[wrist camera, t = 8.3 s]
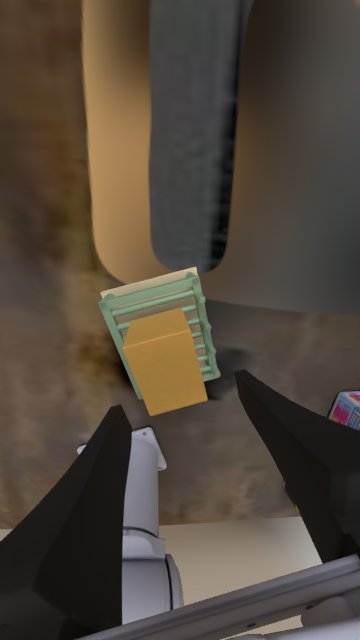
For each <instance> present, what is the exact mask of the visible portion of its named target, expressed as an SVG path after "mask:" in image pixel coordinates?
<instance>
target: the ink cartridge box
mask: <svg viewBox="0 0 360 640" xmlns="http://www.w3.org/2000/svg"><path fill="white" fill-rule="evenodd" d="M328 419H331V420H333V421H336V422H338V423H341V424H343V425H346V426H349V427H352V428H354V429H357V430H360V391H350V392H340V393H339V394H338V396H337V398H336V401H335V403H334V405H333V408H332V410H331V412H330V415H329V417H328Z"/></svg>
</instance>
